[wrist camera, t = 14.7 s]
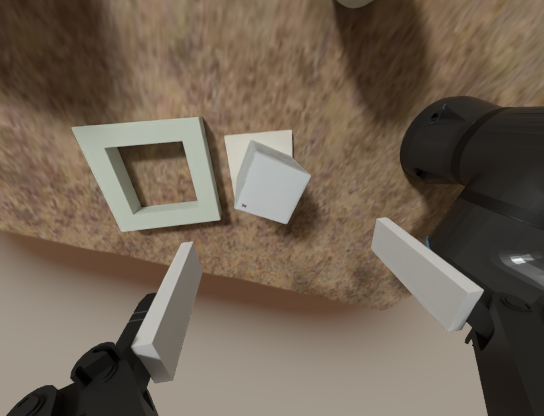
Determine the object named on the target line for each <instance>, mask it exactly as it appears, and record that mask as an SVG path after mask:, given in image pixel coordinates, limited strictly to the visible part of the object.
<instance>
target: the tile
mask: <svg viewBox="0 0 544 416" xmlns="http://www.w3.org/2000/svg"><path fill="white" fill-rule="evenodd" d="M224 137H225V143H226V149H227V155H228V161H229V167H230V173H231V179H232V185H233V191H234V197H235V193H236V182H237V176H238V173H239V170H240V167H241V164H242V161H243V158H244V155H245V153H246V150H247V147H248V145H249V142H250V140H254V141H256V142H259V143H261V144H264V145H266V146H268V147H271V148H273V149H275V150H278V151H280V152H283V153H285V154H287V155H290V156H291V157H292V130H280V131H269V132H257V133H246V134H234V135H225V136H224Z"/></svg>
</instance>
